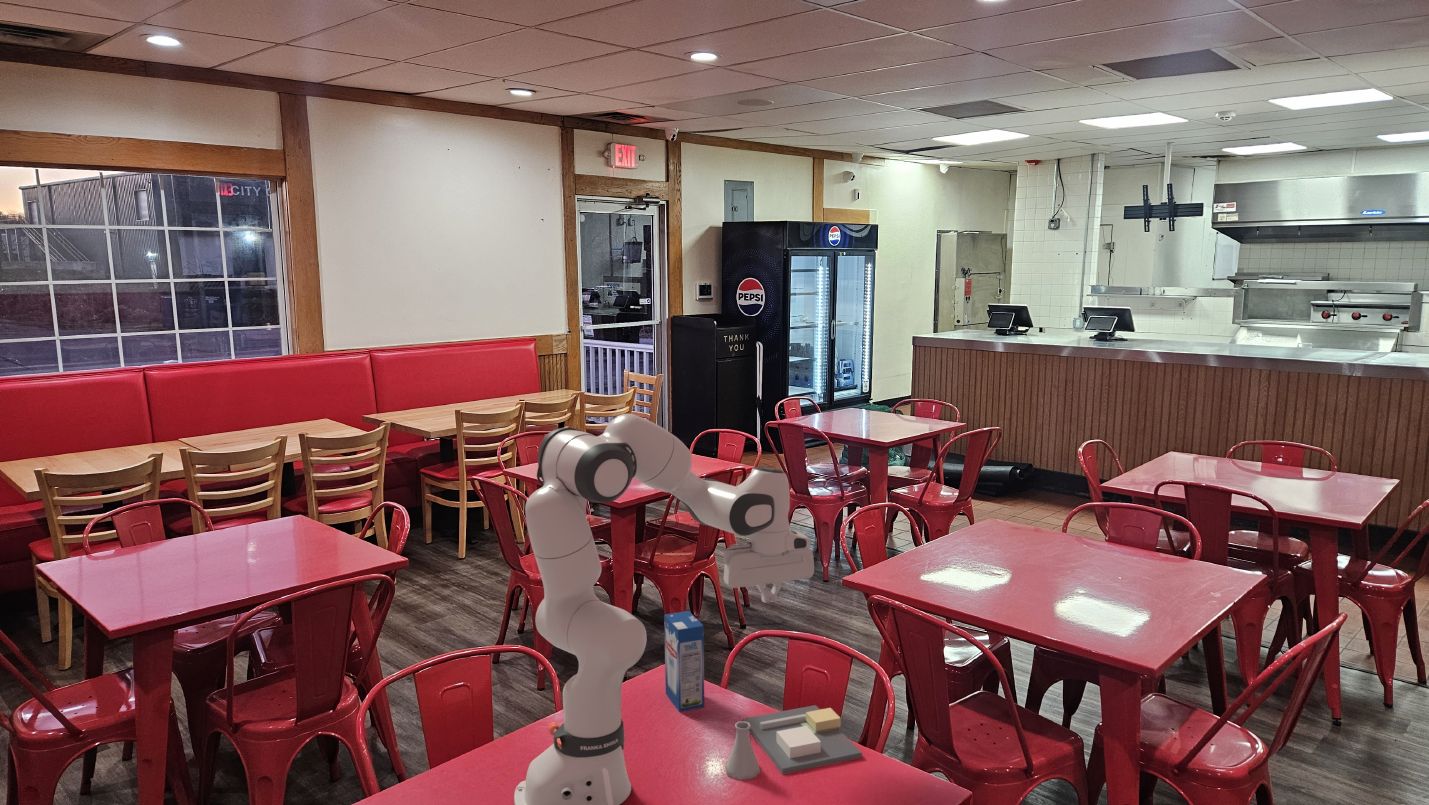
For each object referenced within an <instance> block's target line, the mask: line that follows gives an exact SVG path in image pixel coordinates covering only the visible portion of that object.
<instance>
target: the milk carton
mask: <svg viewBox="0 0 1429 805" xmlns="http://www.w3.org/2000/svg"><path fill="white" fill-rule="evenodd" d="M663 616H664V617H663V618H664V619H663V620H664V624H663V625H664V626H663V627H664V668H665V670H664V671H665V672H664V673H665V674H664V675H665V680H664V681H665V684H664V685H665V695H666V696H667V698H668V700H670V702H671V703H672V704H673V705H674V707H675V708H676V710H677V711H678V712H679V713H682V712H687V711H692V710H698V709H701V708H703V709H704V708H705V648H704V646H705V644H704V643H705V640H704V638H705V637H704V636H705V635H704V633H705V632H704V625H703V623H701V621H700V620H699V619H698V618H697V617H696V616H695V615H694V614H693V613H691V612H690V610H687V611H686V610H685V611H681V612H680V611H679V612H673V613H667V614H664V615H663Z"/></svg>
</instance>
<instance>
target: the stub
mask: <svg viewBox="0 0 1429 805" xmlns="http://www.w3.org/2000/svg"><path fill="white" fill-rule="evenodd" d="M806 721H807V722H808V723H809V725H810V726H811V727H812V728H813V729H814V730H815V731H820V730H825V729H831V728H836V727H837V728H839V727H841V725H842V722H841V721H842V720H841V717H840V716H839V715H838V714H837V713H836V712H835V711H834V709H833V708H831V707H827V708H820V710H815V711H810V712H806Z"/></svg>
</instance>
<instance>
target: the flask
mask: <svg viewBox="0 0 1429 805" xmlns="http://www.w3.org/2000/svg"><path fill="white" fill-rule="evenodd" d="M734 727H735V730H736V732H735V733H736V734H735V740H734V744H733V747H732V749H731V752H730V755H729V757H728V760H727V763H726V765H725V771H726V776H728V777H732V778H733V779H737V780H749V779H755V778H756V777H757V776H758V775H759V774H760V773H761V772H762V771H761V769H760V768H761V767H760V766H759V762H758V759H757V756H756V754H755V752H754V748H753V746H752V742H751V736H750V732H749V729H750V728H751V726H750V723H748V722H745V721H743V720H742V721H737V722H735V724H734Z"/></svg>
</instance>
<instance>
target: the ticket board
mask: <svg viewBox="0 0 1429 805" xmlns="http://www.w3.org/2000/svg"><path fill="white" fill-rule="evenodd" d="M815 710H821V708H819V707H818V706H817V705H815V704H814V705H810V706H804V707H798V708H792V709H787V710H782V711H777V712H771V713H770V712H769V713H765V714H760V715H755V716H749V717H743V718H742V721H745V722H748V723H750V726H751V728H750V729H749V734H751V736H752V737H753V738H754V740H756V742H757V744H759V746H760V747H761V749H762V750H763V751H764V752H765V754H766V755H767V756H768V758H769V759H770V760H771V762H772V763H773V764H774V765H775V767H776V768H777V769H778V770H779V772H780V773H781V775H785V774H791V773H795V772H800V771H803V770H804V771H806V770H811V769H814V768H819V767H820V768H821V767H824V766H829V765H834V764H838V763H839V764H840V763H843V762H848V761H852V760H858V759H862V757H863V756H862V754H863V753H862V751H861V750H860V749H859V748H858V747H857V746H856V745H855V744H854V742H852V743H850V741H851V740H850V739H849V738H848V737H847V736H846V734H845V733H844V732H843V731H842V730H840V729H839V727H836V728H831V729H825V730H820V731H815V730H814V729H813V728H812V727H811V726H810V725H809V723H808V722H807V721H806V712H810V711H815ZM839 737H840V738H841V739H840V738H839ZM843 739H845V740H843ZM847 740H848V741H847Z"/></svg>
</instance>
